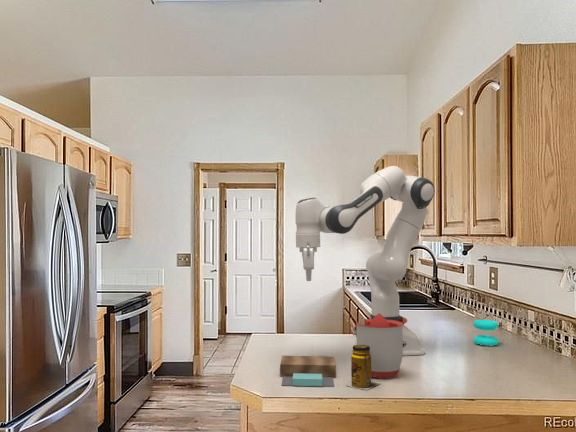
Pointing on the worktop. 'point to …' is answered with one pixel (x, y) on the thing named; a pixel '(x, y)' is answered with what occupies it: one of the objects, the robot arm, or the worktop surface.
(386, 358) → the citrus juicer
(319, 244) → the robot arm
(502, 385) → the worktop surface
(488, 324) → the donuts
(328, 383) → the mat
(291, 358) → the board
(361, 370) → the condiment
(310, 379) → the block
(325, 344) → the worktop surface
